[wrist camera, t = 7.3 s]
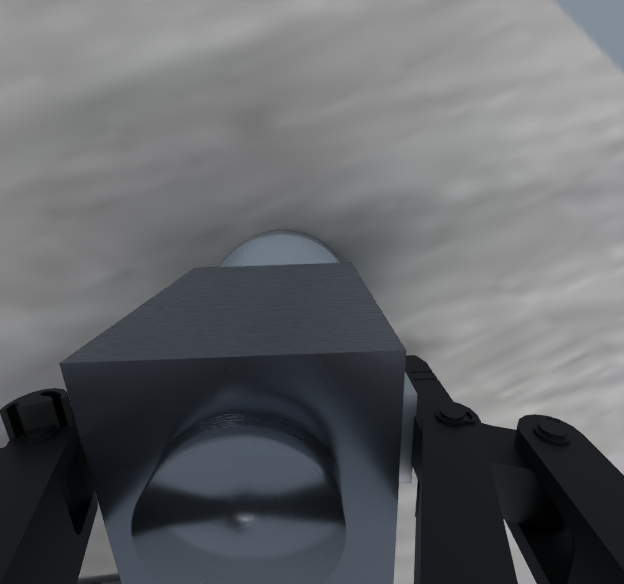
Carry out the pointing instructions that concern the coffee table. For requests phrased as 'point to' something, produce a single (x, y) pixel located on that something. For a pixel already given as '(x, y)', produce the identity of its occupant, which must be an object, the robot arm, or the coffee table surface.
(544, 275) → the coffee table surface
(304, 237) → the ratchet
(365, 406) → the socket
